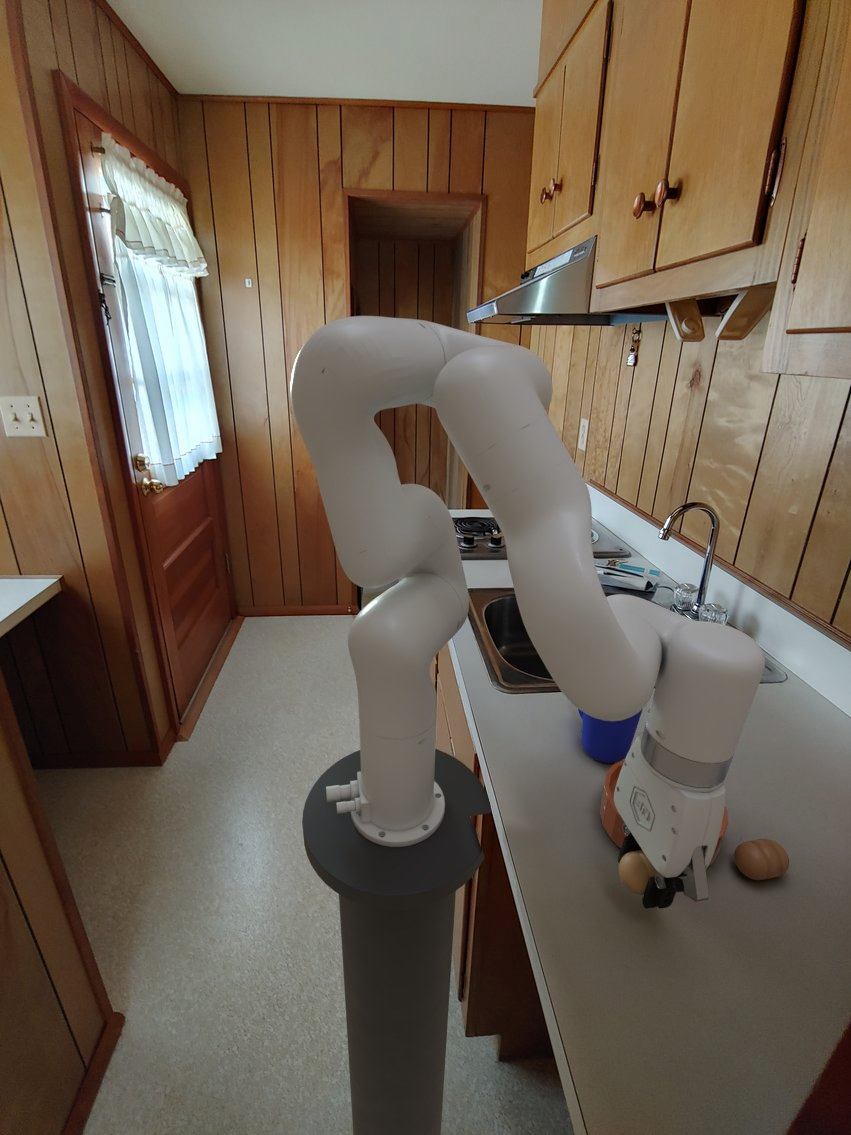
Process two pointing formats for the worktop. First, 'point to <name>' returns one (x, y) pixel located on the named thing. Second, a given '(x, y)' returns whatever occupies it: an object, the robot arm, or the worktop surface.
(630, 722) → the mug
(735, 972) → the worktop surface
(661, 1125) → the worktop surface
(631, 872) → the egg light
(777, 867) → the egg dark
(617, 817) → the bowl
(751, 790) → the worktop surface
